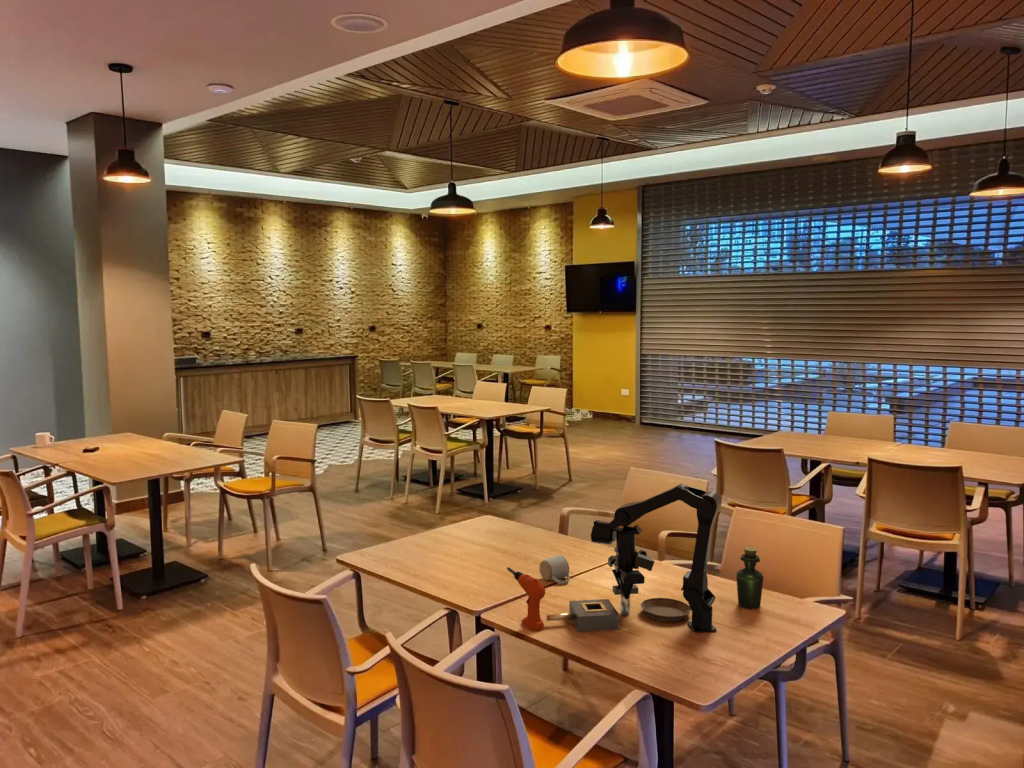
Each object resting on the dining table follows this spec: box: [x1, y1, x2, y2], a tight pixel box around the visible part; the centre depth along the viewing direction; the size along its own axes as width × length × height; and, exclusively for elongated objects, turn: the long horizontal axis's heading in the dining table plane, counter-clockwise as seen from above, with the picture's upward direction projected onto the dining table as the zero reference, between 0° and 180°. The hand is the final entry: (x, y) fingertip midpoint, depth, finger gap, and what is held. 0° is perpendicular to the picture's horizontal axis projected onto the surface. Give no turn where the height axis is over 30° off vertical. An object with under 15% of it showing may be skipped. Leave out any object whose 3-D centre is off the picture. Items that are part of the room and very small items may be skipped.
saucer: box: [640, 597, 692, 622], centre depth 222 cm, size 15×15×3 cm
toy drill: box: [506, 566, 546, 632], centre depth 217 cm, size 5×19×15 cm, turn 33°
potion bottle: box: [735, 546, 764, 610], centre depth 228 cm, size 8×8×18 cm
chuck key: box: [612, 584, 639, 617], centre depth 222 cm, size 3×7×8 cm, turn 98°
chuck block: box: [545, 598, 620, 633], centre depth 216 cm, size 12×20×5 cm, turn 97°
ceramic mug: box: [539, 554, 571, 585], centre depth 252 cm, size 11×8×8 cm
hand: (625, 597), depth 222 cm, fingers closed on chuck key, 3 cm apart
